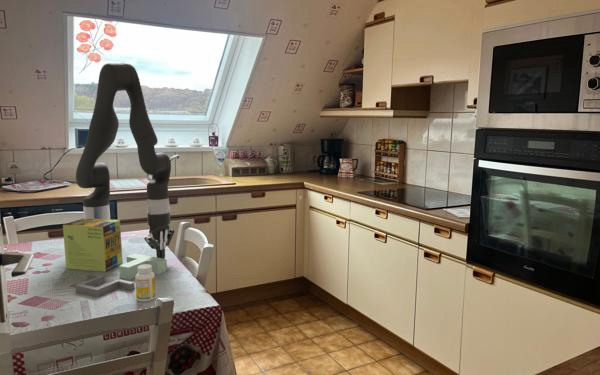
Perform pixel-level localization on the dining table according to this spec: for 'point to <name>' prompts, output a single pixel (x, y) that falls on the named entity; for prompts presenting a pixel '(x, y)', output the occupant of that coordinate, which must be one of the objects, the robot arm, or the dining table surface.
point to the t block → (135, 260)
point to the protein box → (92, 244)
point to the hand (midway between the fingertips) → (161, 259)
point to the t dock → (97, 279)
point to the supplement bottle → (145, 283)
